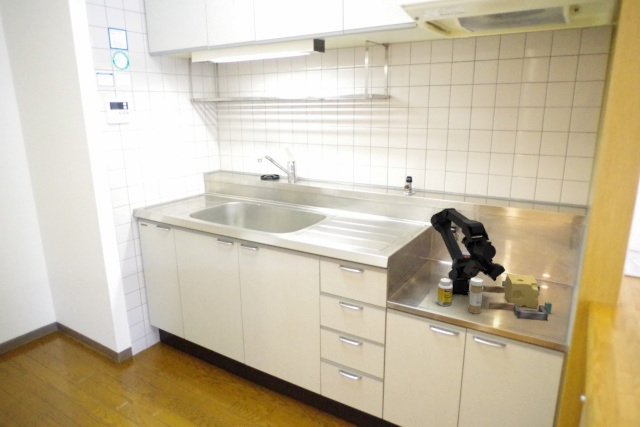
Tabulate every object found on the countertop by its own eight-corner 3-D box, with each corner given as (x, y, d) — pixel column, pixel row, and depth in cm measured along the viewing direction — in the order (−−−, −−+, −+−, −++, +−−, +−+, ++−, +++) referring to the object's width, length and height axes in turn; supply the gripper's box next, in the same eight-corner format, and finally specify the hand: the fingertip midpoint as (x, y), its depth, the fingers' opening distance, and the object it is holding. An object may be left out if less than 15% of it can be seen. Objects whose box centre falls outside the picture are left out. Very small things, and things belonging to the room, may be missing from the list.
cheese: (537, 308, 165) (540, 285, 163) (508, 306, 167) (510, 283, 165) (530, 297, 175) (533, 274, 173) (503, 295, 177) (505, 273, 175)
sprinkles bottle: (478, 308, 166) (480, 276, 163) (482, 314, 162) (485, 281, 158) (466, 308, 166) (468, 276, 163) (470, 314, 162) (473, 281, 159)
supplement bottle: (443, 307, 167) (444, 283, 165) (434, 302, 172) (435, 278, 170) (454, 304, 170) (456, 281, 167) (445, 299, 175) (446, 276, 172)
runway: (492, 315, 160) (492, 306, 159) (480, 284, 188) (481, 276, 187) (555, 321, 155) (556, 311, 154) (534, 288, 183) (535, 279, 182)
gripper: (450, 256, 178) (467, 283, 182) (472, 271, 160) (492, 301, 164) (471, 241, 178) (488, 268, 182) (496, 254, 160) (514, 284, 164)
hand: (495, 280), depth 173 cm, fingers closed
